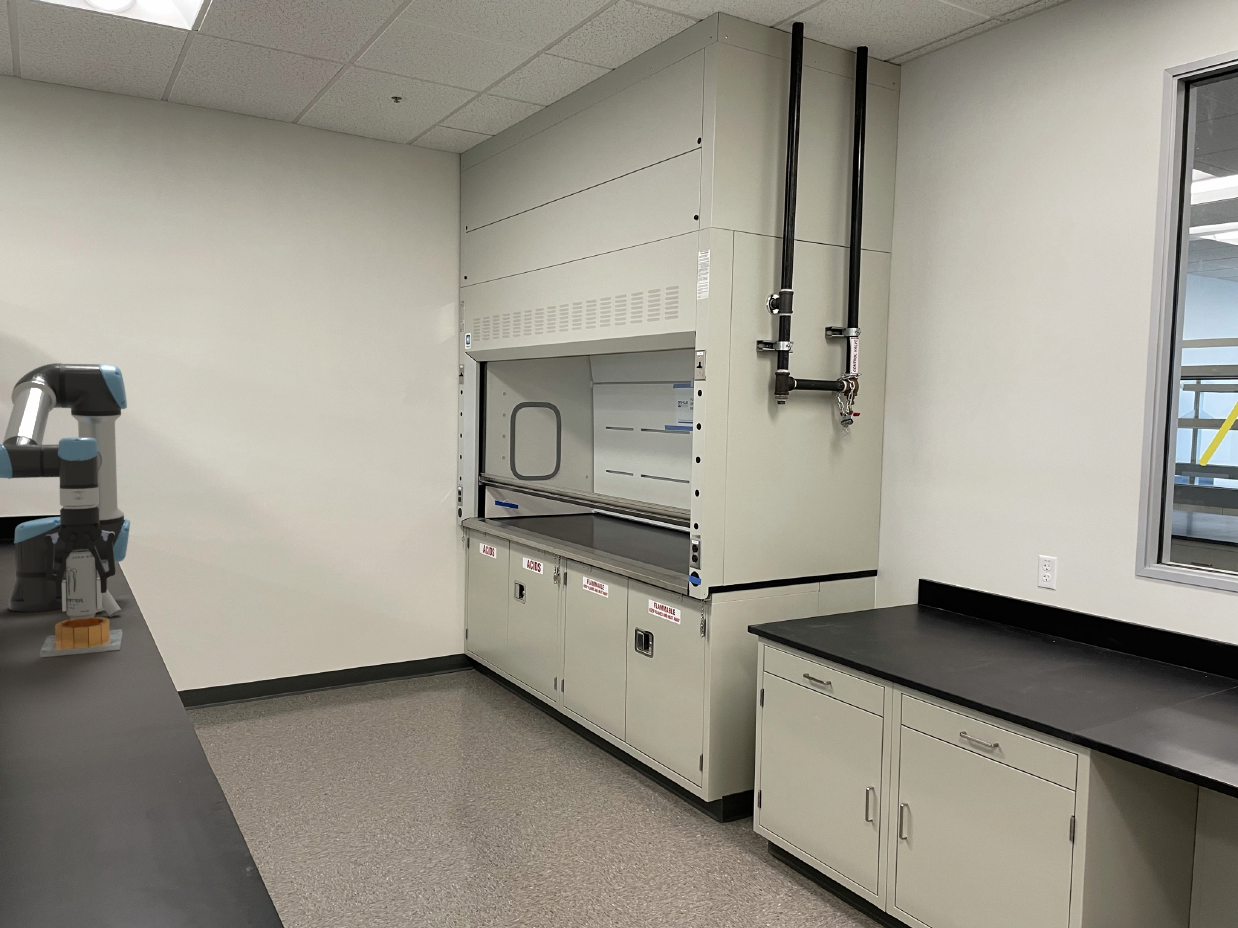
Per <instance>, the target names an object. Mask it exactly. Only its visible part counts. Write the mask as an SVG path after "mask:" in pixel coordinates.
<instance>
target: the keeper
mask: <svg viewBox="0 0 1238 928" xmlns="http://www.w3.org/2000/svg"><path fill="white" fill-rule="evenodd" d="M54 633H55V634H52V635H47V636H46V638H45V640H44V642H43V645H42V646H41V649H40V652H39V658H49V657H59V656H69V655H70V656H71V655H79V654H80V655H81V654H82V655H83V654H91V653H101V652H102V653H103V652H110V651H120V650H121V646H122V645H121V644H122V639H123V629H122V628H120V629H110V618H107V617H102V616H94V617H92V618H87V619H70V618H69V619H66V620H62V621H60V622H57V623H55V625H54Z"/></svg>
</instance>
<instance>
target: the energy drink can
mask: <svg viewBox="0 0 1238 928" xmlns="http://www.w3.org/2000/svg"><path fill="white" fill-rule="evenodd" d="M97 578H98V571H97V569H96V566H95V558H94V556H93V555H92V554H91V552H90V551H89V549H79V550H72V552H71V553H70V555H69V556H68V558H67V560H66V601H67V611H66V615H67V616H68V617H69V620H70V619H87V618H92V617H96V613H99V612H98V609H97Z"/></svg>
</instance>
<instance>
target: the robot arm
mask: <svg viewBox="0 0 1238 928" xmlns="http://www.w3.org/2000/svg"><path fill="white" fill-rule="evenodd" d="M10 399H11V401H12V404H13V406H12V410H11V412H10V417H9V420H8V423H7V427H6V430H5V433H4V434H5V435H4V438H3V441H2V443H0V479H8V480H10V479H26V478H28V479H31V478H35V479H36V478H59V506H61V508H60V509H59V513H60V514H59V515H60V516H54V517H46V518H44V517H43V518H38V519H34V520H29V521H25V522H22V523H20V524H18V525H17V526H16V527H15V530H14V541H13V544H14V557H15V559H14V560H15V580H14V584H13V586H12V587H13V588H12V590H11V593H10V596H9V598H8V609H9V610H10V611H15V612H41V611H42V612H43V611H52V610H59V609H62V612H67V601H66V560H67V558H68V556H69V555H70V553H71V552H72V550H79V549H89V551H90V552H91V554H92V555H93V556H94V558H95V566H96V569H97V575H99V577H97V609H101V607H102V596H101V593H106V591H107V589H108V580H107V579H108V578H110V577H114V576H115V575H116V563H121V562H122V561H124V560H125V558H126V556H127V551H128V544H129V537H130V535H129V534H130V526H131V521H130V519H126V518H125V512H123V511H122V510H121V509H119V507H118V482H117V481H118V480H117V451H116V450H117V449H116V448H117V447H116V444H117V443H116V421H117V420H118V419H119V418H120V417H121V416H122V410H125V409H127V408H128V402H127V393H126V389H125V383H124V377H123V373H122V371H121V369H120V368H119V367H118V366H116V365H111V364H110V365H109V364H101V363H98V364H95V363H93V364H92V363H85V364H84V363H61V362H60V363H59V362H58V363H57V362H56V363H49V364H44V365H41V366H39V367H36V368H34V369H32V370H30V371H28V372H27V373H26V374H25V375H23V376H22V377H21V378H19V380H18V381H17V382H16V383H15V385H14V387H13V389H12V391H11V398H10ZM55 408H56V409H58V408H59V409H61V408H62V409H70V414H71V416H72V417H73V418H74V419H75V420H76V421H77V427H78V428H77V429H78V437H77V436H76V437H75V436H74V437H73V436H72V437H62V438H60V439H59V441H58V444H43V442H44V441H43V440H44V437H45V433H46V426H47V423H48V420H49V419H48V418H49V414H50V412H51V411H53V410H54V409H55ZM104 564H105V565H108V570H106V568H105V567H104Z"/></svg>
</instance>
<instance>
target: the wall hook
mask: <svg viewBox="0 0 1238 928" xmlns="http://www.w3.org/2000/svg"><path fill="white" fill-rule="evenodd" d="M101 596H102V607H101V609H98V612H97V613H99V612H103V611H105V612H106V614H107V615H108V617H110V618H111V617H114V616H116V615H118V614H119V613H121V611H122V609H121V607H120V606H119V605H118V603H117V602H116V600H115V598H114V597H113V596H112V594H111V593H110V591H109V589H108V588H107V591H106V593H101Z"/></svg>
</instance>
